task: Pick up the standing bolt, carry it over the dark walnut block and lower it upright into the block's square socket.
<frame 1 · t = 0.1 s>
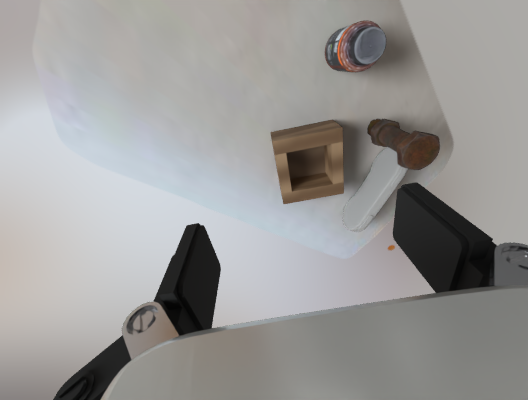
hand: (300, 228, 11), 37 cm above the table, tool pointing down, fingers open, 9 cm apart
game controller: (363, 182, 52), on the table
bolt: (373, 126, 46), on the table
socket block: (304, 157, 48), on the table
supplement bottle: (341, 50, 39), on the table
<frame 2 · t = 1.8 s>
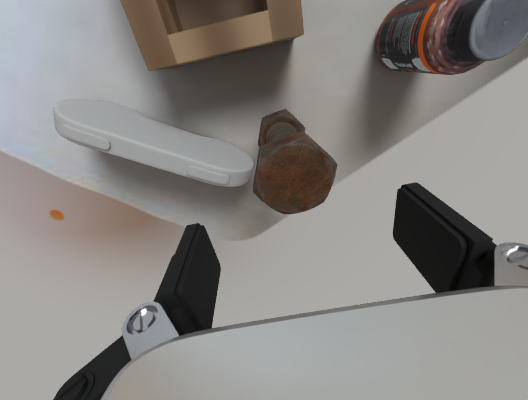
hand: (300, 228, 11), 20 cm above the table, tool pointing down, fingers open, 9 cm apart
game controller: (176, 132, 29), on the table
bolt: (277, 124, 28), on the table
supplement bottle: (402, 37, 24), on the table
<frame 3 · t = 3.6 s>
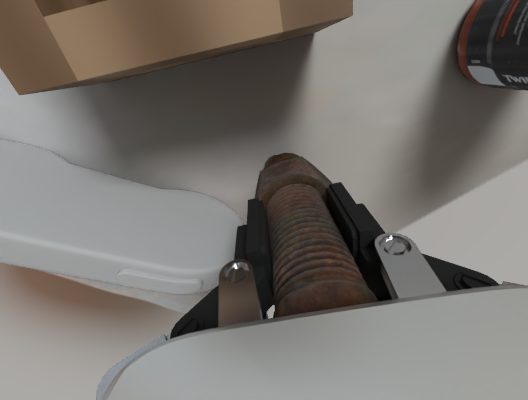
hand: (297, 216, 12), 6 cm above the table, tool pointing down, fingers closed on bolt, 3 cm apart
game controller: (125, 180, 18), on the table
bolt: (284, 168, 18), on the table, touching gripper
supplement bottle: (501, 29, 14), on the table
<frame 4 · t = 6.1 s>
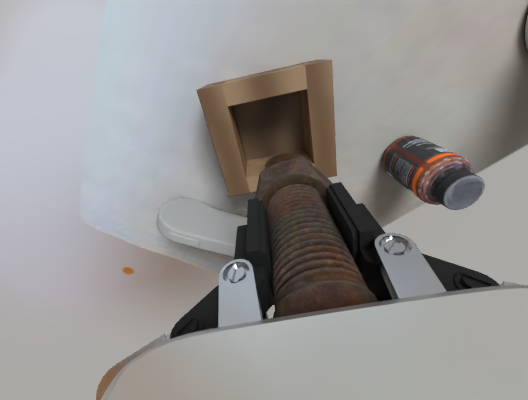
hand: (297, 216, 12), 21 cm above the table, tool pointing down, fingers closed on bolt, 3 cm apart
game controller: (230, 213, 37), on the table
bolt: (284, 168, 18), point 14 cm above the table, touching gripper
socket block: (270, 124, 30), on the table
supplement bottle: (401, 154, 33), on the table
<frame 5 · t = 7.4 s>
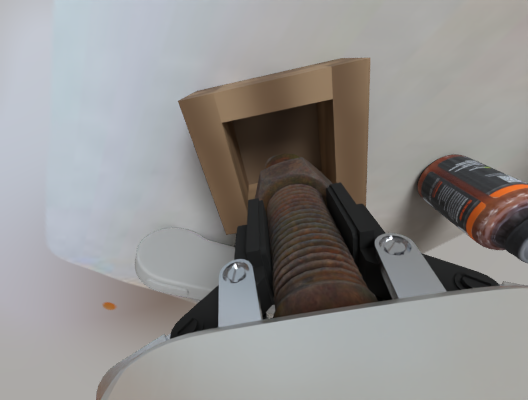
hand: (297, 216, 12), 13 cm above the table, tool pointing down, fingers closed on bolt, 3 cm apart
game controller: (229, 244, 31), on the table
bolt: (284, 168, 18), point 7 cm above the table, touching gripper
socket block: (278, 140, 24), on the table
supplement bottle: (440, 176, 27), on the table
when the fingers open (8 cm above the table, at t = 8.6 s): bolt stays where it is, point 1 cm above the table.
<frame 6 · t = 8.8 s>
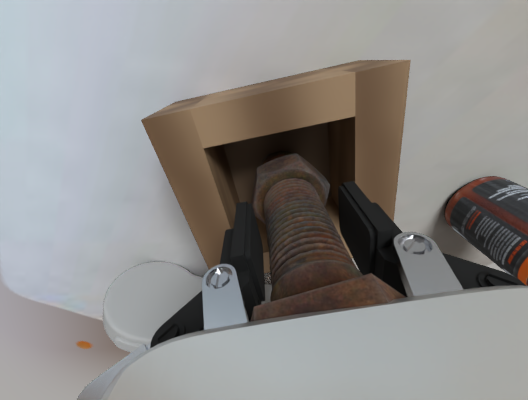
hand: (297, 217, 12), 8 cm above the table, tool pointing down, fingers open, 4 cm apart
game controller: (221, 277, 27), on the table
bolt: (280, 165, 19), point 1 cm above the table, touching gripper
socket block: (279, 161, 19), on the table
supplement bottle: (472, 201, 22), on the table
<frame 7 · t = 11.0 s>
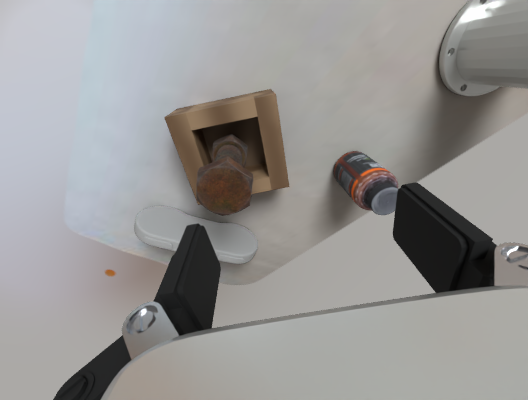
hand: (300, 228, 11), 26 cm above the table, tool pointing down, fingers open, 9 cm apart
game controller: (203, 219, 42), on the table
bolt: (231, 143, 35), resting on socket block
socket block: (234, 141, 35), on the table
supplement bottle: (350, 167, 39), on the table
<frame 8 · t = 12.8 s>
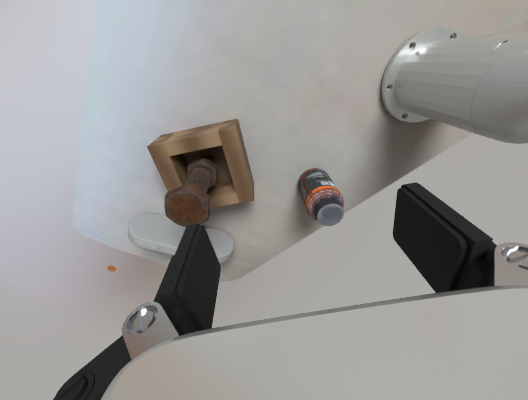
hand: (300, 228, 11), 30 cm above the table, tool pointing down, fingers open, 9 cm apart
game controller: (189, 224, 49), on the table
bolt: (207, 162, 41), resting on socket block
socket block: (210, 161, 41), on the table
supplement bottle: (313, 181, 44), on the table
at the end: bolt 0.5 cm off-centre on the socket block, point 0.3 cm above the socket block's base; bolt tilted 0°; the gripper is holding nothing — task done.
